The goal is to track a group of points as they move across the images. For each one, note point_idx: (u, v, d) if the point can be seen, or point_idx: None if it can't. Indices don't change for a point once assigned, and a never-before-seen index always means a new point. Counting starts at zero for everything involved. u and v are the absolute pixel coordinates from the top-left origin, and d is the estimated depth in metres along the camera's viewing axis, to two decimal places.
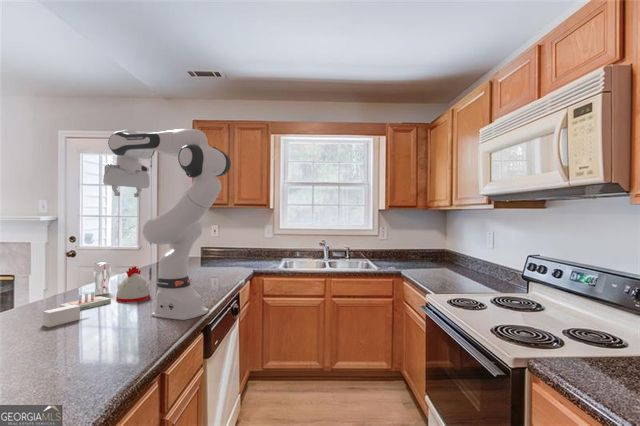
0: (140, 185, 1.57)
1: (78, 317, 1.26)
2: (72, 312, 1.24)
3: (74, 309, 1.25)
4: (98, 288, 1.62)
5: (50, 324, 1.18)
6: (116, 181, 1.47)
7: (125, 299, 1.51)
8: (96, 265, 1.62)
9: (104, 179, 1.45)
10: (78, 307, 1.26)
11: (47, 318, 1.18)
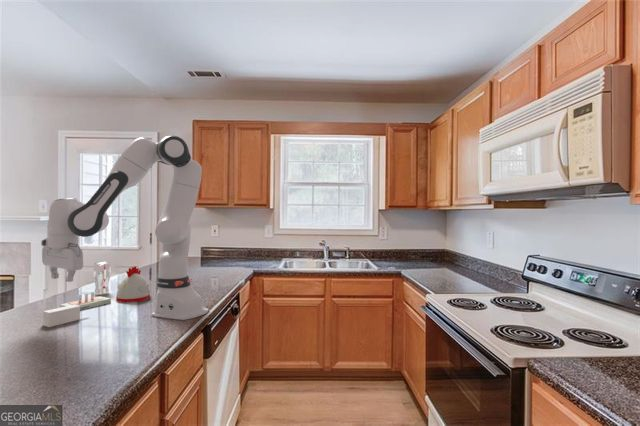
0: None
1: (78, 317, 1.26)
2: (72, 312, 1.24)
3: (74, 309, 1.25)
4: (98, 288, 1.62)
5: (50, 324, 1.18)
6: None
7: (125, 299, 1.51)
8: (96, 265, 1.62)
9: (76, 263, 1.18)
10: (78, 307, 1.26)
11: (47, 318, 1.18)
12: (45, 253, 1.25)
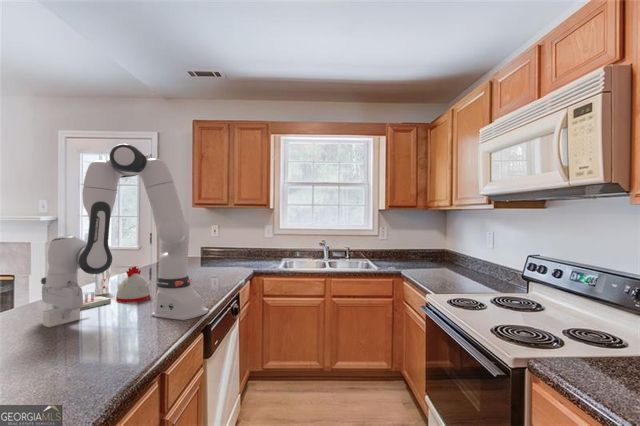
0: None
1: (78, 317, 1.26)
2: (72, 312, 1.24)
3: (74, 309, 1.25)
4: (98, 288, 1.62)
5: (50, 324, 1.18)
6: None
7: (125, 299, 1.51)
8: None
9: (76, 303, 1.18)
10: None
11: (47, 318, 1.18)
12: (45, 291, 1.25)
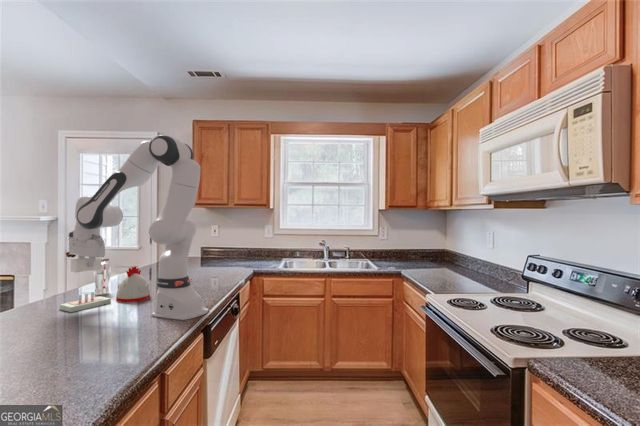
0: None
1: (100, 267, 1.47)
2: (95, 262, 1.45)
3: (96, 260, 1.45)
4: (98, 288, 1.62)
5: (77, 270, 1.38)
6: None
7: (125, 299, 1.51)
8: None
9: (99, 252, 1.38)
10: (100, 258, 1.47)
11: (74, 265, 1.39)
12: (72, 244, 1.45)
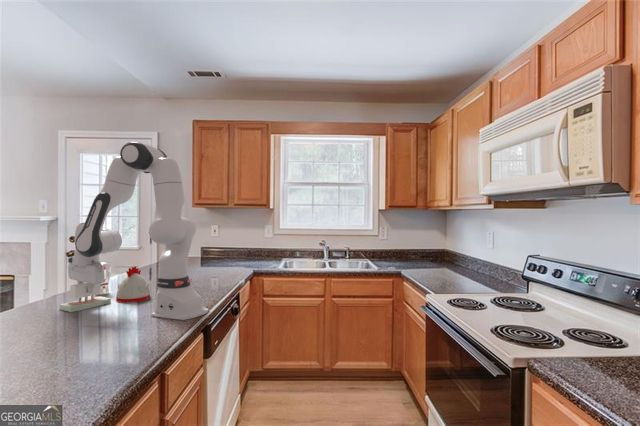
0: None
1: (99, 292, 1.47)
2: (94, 287, 1.45)
3: (96, 285, 1.45)
4: None
5: (76, 296, 1.39)
6: None
7: (125, 299, 1.51)
8: None
9: (98, 278, 1.39)
10: None
11: (74, 291, 1.39)
12: (71, 269, 1.45)
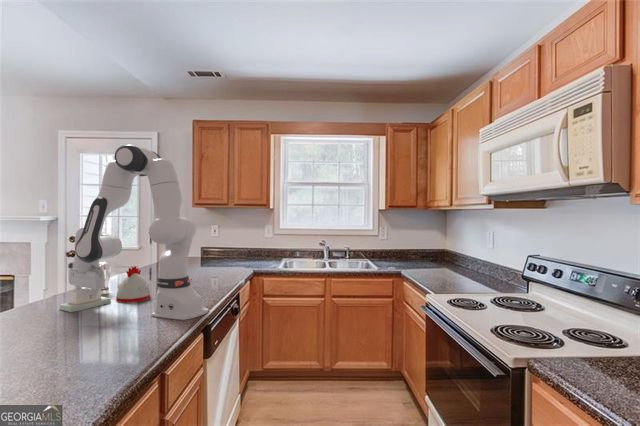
0: None
1: (99, 297, 1.47)
2: None
3: None
4: None
5: (77, 302, 1.39)
6: None
7: (125, 299, 1.51)
8: None
9: (99, 284, 1.39)
10: None
11: (74, 297, 1.39)
12: (71, 275, 1.45)
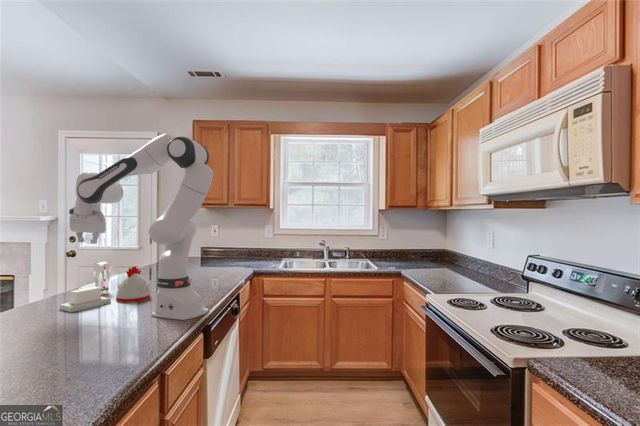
0: None
1: (99, 297, 1.47)
2: (94, 292, 1.45)
3: (96, 290, 1.45)
4: None
5: (77, 302, 1.39)
6: None
7: (125, 299, 1.51)
8: (96, 265, 1.62)
9: (100, 227, 1.39)
10: (99, 288, 1.47)
11: (74, 297, 1.39)
12: (72, 221, 1.45)
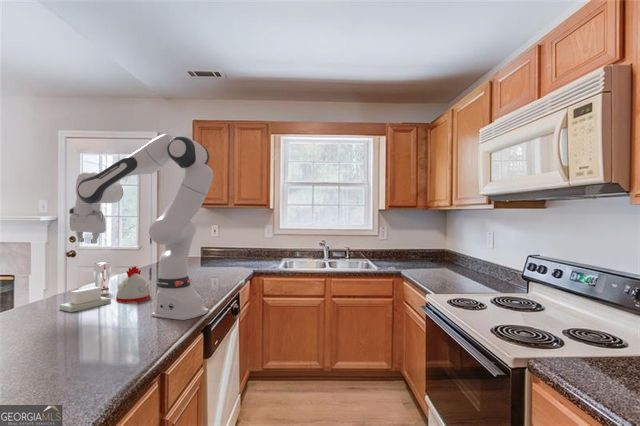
0: None
1: (99, 297, 1.47)
2: (94, 292, 1.45)
3: (96, 290, 1.45)
4: None
5: (77, 302, 1.39)
6: None
7: (125, 299, 1.51)
8: (96, 265, 1.62)
9: (100, 227, 1.39)
10: (99, 288, 1.47)
11: (74, 297, 1.39)
12: (72, 221, 1.45)
